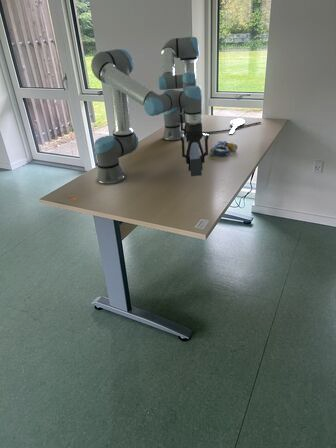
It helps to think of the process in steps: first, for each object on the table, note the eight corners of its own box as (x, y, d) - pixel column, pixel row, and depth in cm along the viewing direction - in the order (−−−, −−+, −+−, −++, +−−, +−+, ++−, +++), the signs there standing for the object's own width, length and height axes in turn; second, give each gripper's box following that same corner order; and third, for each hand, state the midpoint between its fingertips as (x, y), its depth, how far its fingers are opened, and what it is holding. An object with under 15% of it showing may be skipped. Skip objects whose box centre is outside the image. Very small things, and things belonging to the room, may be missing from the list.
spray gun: (240, 146, 220) (218, 145, 226) (240, 140, 217) (218, 139, 224) (230, 158, 204) (207, 156, 211) (230, 151, 202) (207, 150, 208)
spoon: (237, 136, 244) (237, 133, 243) (223, 136, 248) (223, 133, 247) (246, 120, 270) (246, 118, 269) (232, 120, 274) (232, 117, 273)
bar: (187, 138, 212) (186, 125, 208) (195, 138, 212) (195, 124, 207) (190, 176, 161) (190, 159, 157) (201, 175, 161) (201, 158, 157)
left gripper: (174, 125, 152) (177, 173, 164) (214, 123, 151) (214, 171, 163) (174, 121, 158) (177, 167, 170) (213, 118, 157) (213, 165, 169)
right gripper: (174, 104, 191) (177, 143, 203) (206, 101, 190) (207, 141, 202) (174, 101, 197) (177, 140, 210) (205, 99, 196) (206, 138, 209)
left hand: (195, 169), depth 166 cm, fingers closed on bar, 5 cm apart
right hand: (191, 140), depth 206 cm, fingers closed on bar, 5 cm apart
